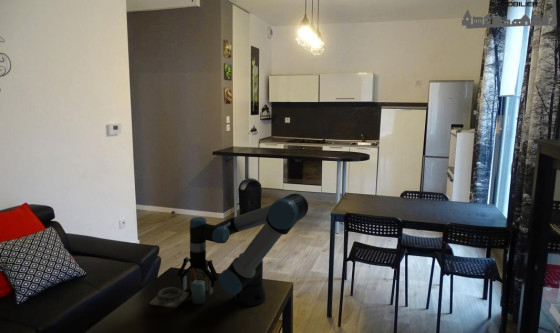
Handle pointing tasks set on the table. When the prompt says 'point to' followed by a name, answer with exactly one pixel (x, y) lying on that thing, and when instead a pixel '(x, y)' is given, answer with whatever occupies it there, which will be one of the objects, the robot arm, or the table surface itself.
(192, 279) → the candy box
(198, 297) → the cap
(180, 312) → the table surface
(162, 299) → the square base with ring
